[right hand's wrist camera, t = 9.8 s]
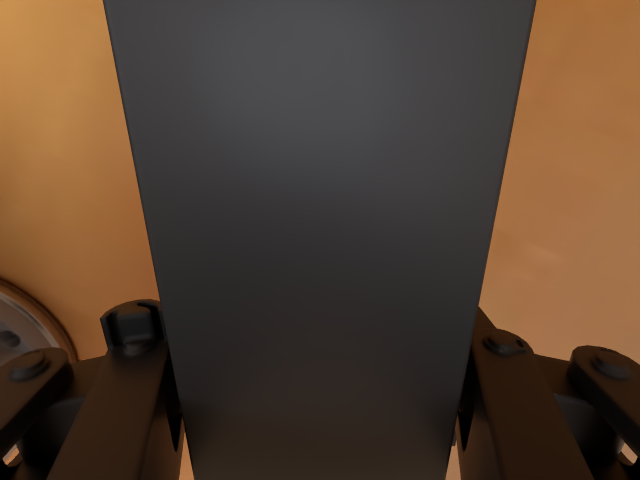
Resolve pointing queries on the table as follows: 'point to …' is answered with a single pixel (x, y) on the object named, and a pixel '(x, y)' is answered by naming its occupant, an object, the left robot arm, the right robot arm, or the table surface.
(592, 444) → the right robot arm
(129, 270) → the table surface
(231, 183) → the bar
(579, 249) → the table surface
